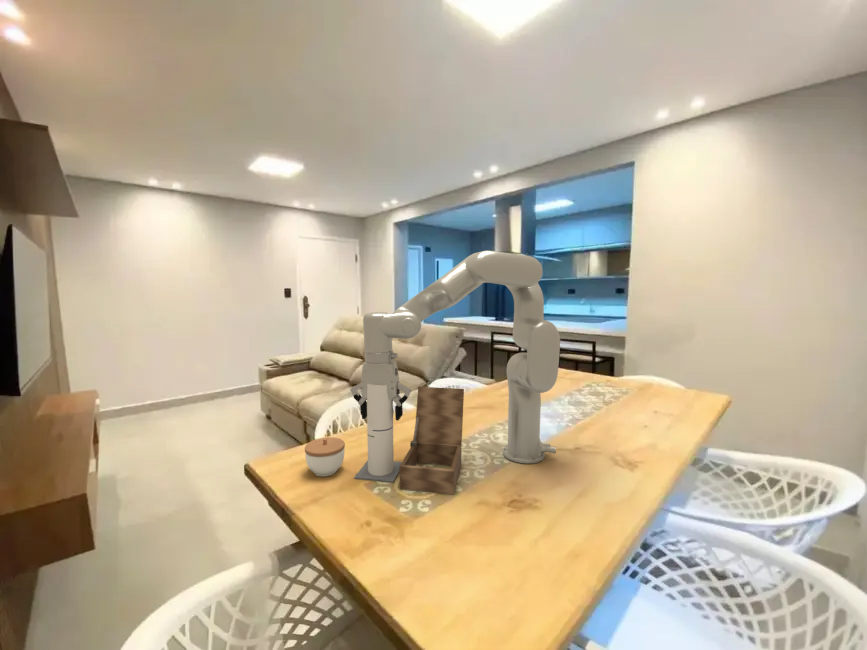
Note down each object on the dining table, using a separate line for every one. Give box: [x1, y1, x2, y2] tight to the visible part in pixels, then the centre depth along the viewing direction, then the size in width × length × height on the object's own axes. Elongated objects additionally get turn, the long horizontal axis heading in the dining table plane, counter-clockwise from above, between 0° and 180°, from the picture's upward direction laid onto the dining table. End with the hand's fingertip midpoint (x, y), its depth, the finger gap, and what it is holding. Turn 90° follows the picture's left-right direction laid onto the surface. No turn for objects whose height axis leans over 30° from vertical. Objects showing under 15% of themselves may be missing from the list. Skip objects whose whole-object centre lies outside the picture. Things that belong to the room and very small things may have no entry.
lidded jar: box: [304, 436, 346, 478], centre depth 104 cm, size 11×11×9 cm
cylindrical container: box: [366, 384, 395, 476], centre depth 103 cm, size 7×7×25 cm
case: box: [399, 386, 465, 495], centre depth 104 cm, size 14×22×21 cm, turn 169°
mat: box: [353, 460, 402, 484], centre depth 105 cm, size 11×11×1 cm
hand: (381, 418), depth 103 cm, fingers open, 9 cm apart
